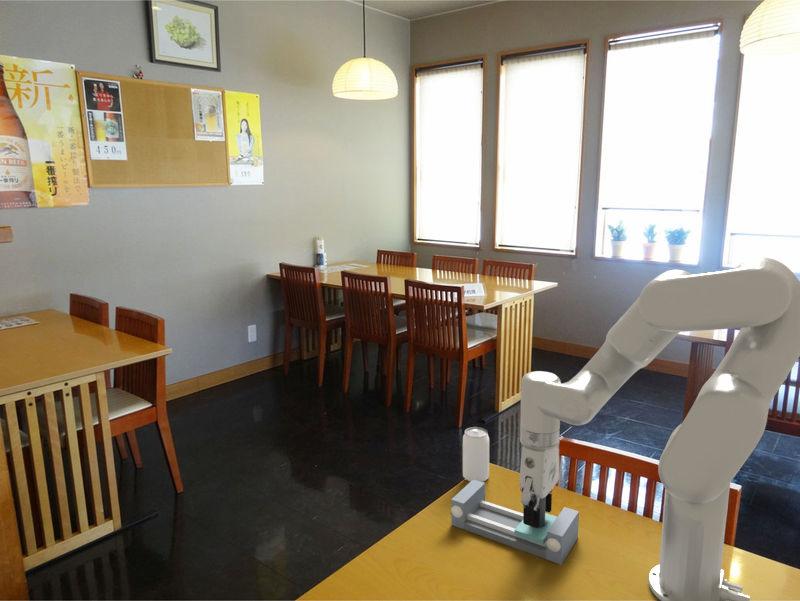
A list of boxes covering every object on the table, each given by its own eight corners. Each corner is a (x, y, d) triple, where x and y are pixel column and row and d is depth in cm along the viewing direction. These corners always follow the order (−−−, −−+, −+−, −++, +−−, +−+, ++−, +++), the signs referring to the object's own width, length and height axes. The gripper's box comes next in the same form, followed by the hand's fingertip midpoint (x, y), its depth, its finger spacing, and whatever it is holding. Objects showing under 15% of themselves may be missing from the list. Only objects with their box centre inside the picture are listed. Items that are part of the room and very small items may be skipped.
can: (488, 470, 144) (488, 426, 141) (489, 483, 138) (490, 438, 135) (462, 470, 145) (462, 426, 142) (462, 483, 138) (462, 437, 136)
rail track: (577, 537, 116) (578, 511, 115) (560, 565, 108) (561, 537, 106) (473, 503, 129) (473, 479, 128) (450, 525, 121) (450, 500, 120)
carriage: (559, 521, 117) (560, 486, 116) (543, 544, 110) (544, 507, 108) (531, 512, 120) (532, 478, 119) (514, 534, 113) (515, 498, 112)
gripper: (541, 456, 102) (539, 546, 106) (572, 423, 116) (569, 503, 119) (503, 446, 106) (502, 533, 110) (537, 415, 120) (535, 493, 124)
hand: (537, 516), depth 115 cm, fingers open, 5 cm apart
